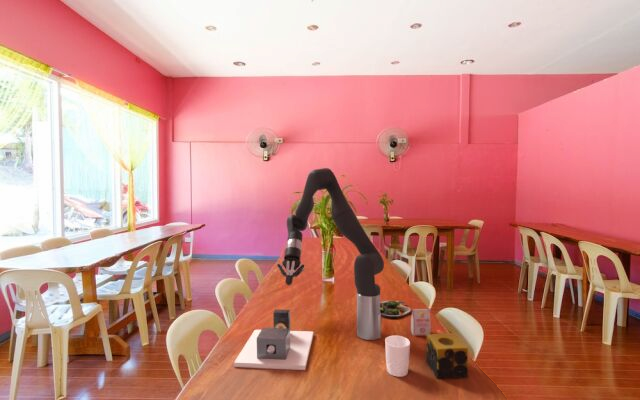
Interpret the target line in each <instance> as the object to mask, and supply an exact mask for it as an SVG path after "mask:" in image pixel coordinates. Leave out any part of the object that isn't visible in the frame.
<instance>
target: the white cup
mask: <svg viewBox="0 0 640 400" xmlns="http://www.w3.org/2000/svg"><path fill="white" fill-rule="evenodd" d="M384 343H385V346H384V347H385V350H384V351H385V363H386V371H387V373H388V374H389V375H391V376H394V377H398V378H401V377H405V376H407V375H408V372H409V365H410V355H411V354H410V350H411V342H410V340H409V339H408V338H407V337H405V336H402V335H396V334H395V335H389V336H387V337H385V339H384Z"/></svg>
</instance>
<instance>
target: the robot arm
mask: <svg viewBox="0 0 640 400" xmlns="http://www.w3.org/2000/svg"><path fill="white" fill-rule="evenodd" d="M334 173H335V172H333V171H332V169H331V168H327V167H324V168H318V169H313V170H310V172H309V174H308V175H307V178H306V182H305V185H304V189H303V192H302V197H301V199H300V201H299V202H298V205H297V207H296V209H295V214H293V213H292V214H290V215H288V217H287V218H286V228H287V234H288V235H287V241H286V245H285V250H284V256H283V260H282V263H278V264H277V265H276V266H277V269H278V270H279V272H280V273H281V275H282V276H283V277H285V284H286V285H287V286H291V285H292V284H293V281H294V280H293V279H294V278H296V277H299V276H300V274H301V273H302V272H303V271H304V270H305V264H302V262H301V257H302V252H303V251H302V250H303V249H302V248H303V247H302V246H303V245H302V243H303V233H302V232H303V231H305V230H306V229H307V228H308V221H309V217H310V215H311V213H312V212H313V210H314V206H315V201H314V196H315V194H316V193H317V192H318V191H322V190H326V191H327V192H328V194H329V196H330V199H331V218H332V220H333V222H334V224H335V226H336V228H337V229H338V231H339V233H341V235H342V236H344V237H345V238H346V239H347V240H348V241H350V242H351V243H352V244H353V246H354V247H356V249H357V251H358V252H359V255H357V256H356V258H354V259H355V260H354V263H353V272H354V273H353V274H354V285H355V288H356V336H357V337H358V338H360V339H363V340H366V341H374V340H377V339H382V332H381V331H382V325H381V324H382V317H381V314H380V303H381V286H380V285H379V284H377V283H376V281H375V279H376V278H375V276H376V275H378V274H380V273H382V272H383V270H384V268H385V262H384V258H383V256H382V255H381V253H380V252H379V251H378V249H377V248H376V246H375V245H374V244H373V242H372V241H371V239H370V238H369V236H368V235H367V233H366V231H365V230H364V228H363V226H362V224H361V222H360V221H359V219H358V216H357V215H356V214H355V212H354V210H353V209H352V207H351V205H350V203H349V202H348V199H347V197H346V196H345V195H344V192H343V191H342V188H341V185H340V184H339V181H338V179H337V177H336V175H335V174H334ZM284 269H285V270H286V272H285V270H284Z"/></svg>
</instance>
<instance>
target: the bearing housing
mask: <svg viewBox="0 0 640 400" xmlns="http://www.w3.org/2000/svg"><path fill="white" fill-rule="evenodd" d="M260 330H261V332H260V333H259V335H258V337H257V359H280V360H286V358H287V355H288V352H289V350H290V331H291V328H290V329H286V328H274V327H262V329H260ZM269 345H276V348H275V350H274V353H273V354H269V353H268V352H267V349H268V347H269Z"/></svg>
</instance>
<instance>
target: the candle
mask: <svg viewBox="0 0 640 400" xmlns="http://www.w3.org/2000/svg"><path fill="white" fill-rule="evenodd" d="M425 337H426V340H425V341H426V351H425V353H426V354H425V357H426V361H425V362H426V364H427V365H428V367H429V368H430V370H431V372H432V373H433V374H434V377H435V379H437V380H438V379H440V380H441V379H444V380H446V379H447V380H448V379H449V380H450V379H467V378H468V377H469V376H468V375H469V374H468V372H469V367H468V360H469V358H468V357H469V356H468V351H469V346H467V345H466V344H465V343H464V342H463V341H462V340H461V339H460V337H459V336H458V335H457V333H455V332H450V333H449V332H448V333H430V334H427V335H426V336H425Z"/></svg>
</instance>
